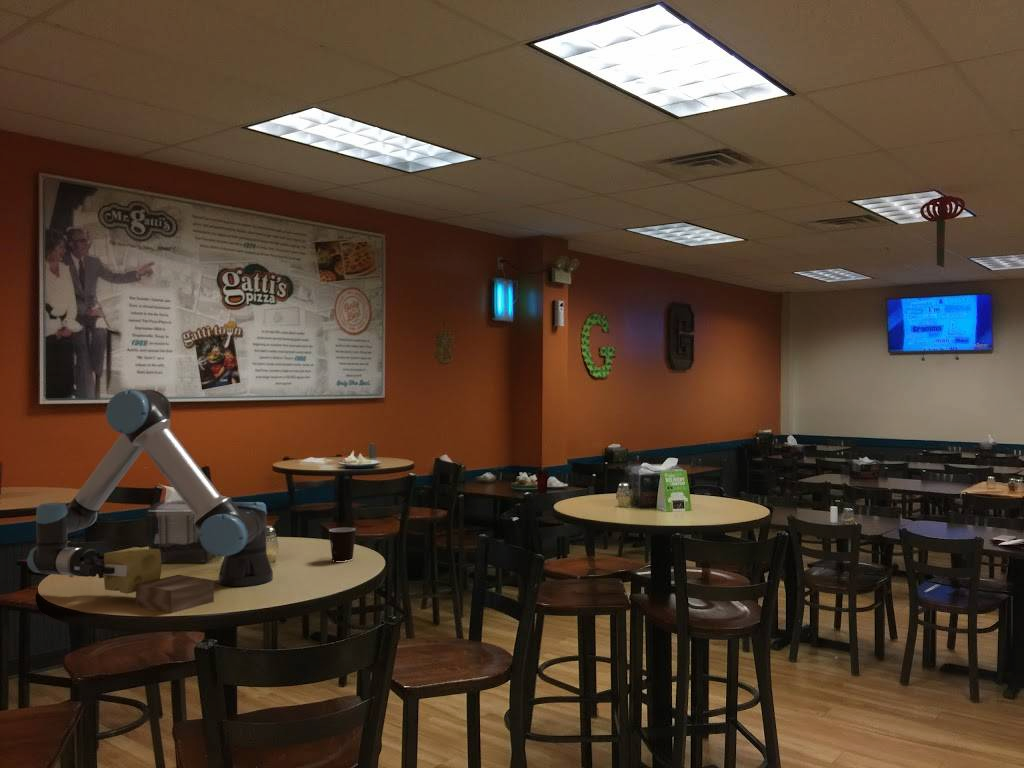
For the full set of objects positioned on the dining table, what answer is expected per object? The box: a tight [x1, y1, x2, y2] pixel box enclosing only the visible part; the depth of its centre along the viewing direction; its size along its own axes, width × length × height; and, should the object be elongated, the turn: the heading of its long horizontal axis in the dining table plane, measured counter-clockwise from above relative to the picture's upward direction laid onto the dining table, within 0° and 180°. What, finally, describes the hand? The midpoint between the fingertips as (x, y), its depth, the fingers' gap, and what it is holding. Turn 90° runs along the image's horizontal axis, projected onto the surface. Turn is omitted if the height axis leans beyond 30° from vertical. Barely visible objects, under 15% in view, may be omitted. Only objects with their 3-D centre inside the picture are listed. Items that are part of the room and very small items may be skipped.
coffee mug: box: [328, 527, 357, 561], centre depth 274 cm, size 12×9×10 cm
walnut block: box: [135, 574, 215, 614], centre depth 218 cm, size 14×13×6 cm
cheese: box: [103, 546, 162, 595], centre depth 223 cm, size 10×11×10 cm
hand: (143, 566), depth 221 cm, fingers closed on cheese, 11 cm apart
